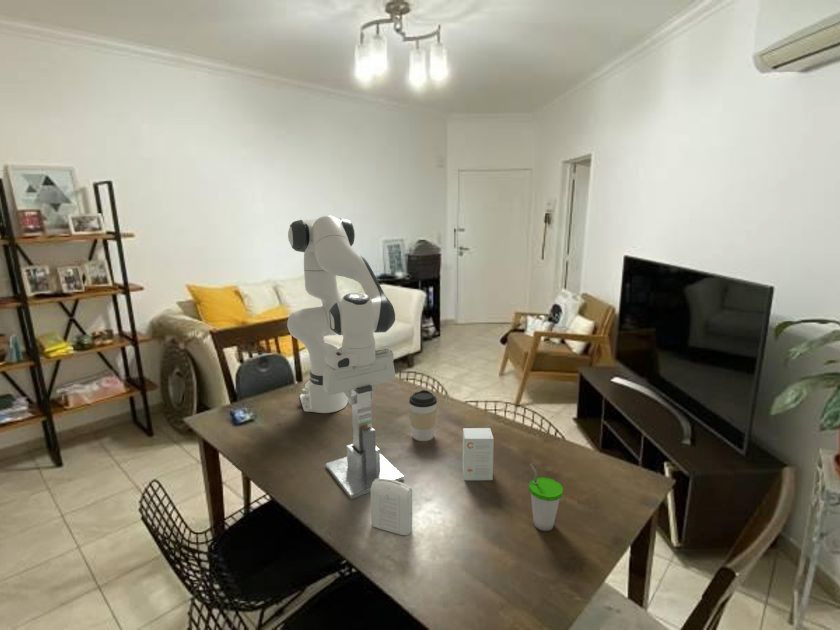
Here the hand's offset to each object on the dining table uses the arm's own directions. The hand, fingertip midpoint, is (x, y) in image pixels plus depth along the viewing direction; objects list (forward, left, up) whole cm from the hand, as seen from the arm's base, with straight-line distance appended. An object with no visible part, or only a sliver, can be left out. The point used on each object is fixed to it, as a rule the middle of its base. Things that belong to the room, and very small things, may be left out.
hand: (361, 401), depth 125 cm
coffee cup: (-9, +26, -22) cm, 35 cm away
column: (0, 0, -14) cm, 14 cm away
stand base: (0, 0, -22) cm, 22 cm away
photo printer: (+24, -4, -22) cm, 33 cm away
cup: (+43, +27, -22) cm, 56 cm away
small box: (+18, +27, -22) cm, 39 cm away
